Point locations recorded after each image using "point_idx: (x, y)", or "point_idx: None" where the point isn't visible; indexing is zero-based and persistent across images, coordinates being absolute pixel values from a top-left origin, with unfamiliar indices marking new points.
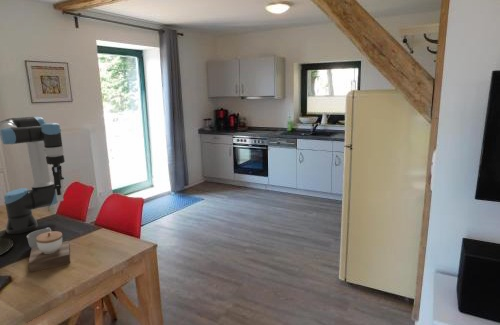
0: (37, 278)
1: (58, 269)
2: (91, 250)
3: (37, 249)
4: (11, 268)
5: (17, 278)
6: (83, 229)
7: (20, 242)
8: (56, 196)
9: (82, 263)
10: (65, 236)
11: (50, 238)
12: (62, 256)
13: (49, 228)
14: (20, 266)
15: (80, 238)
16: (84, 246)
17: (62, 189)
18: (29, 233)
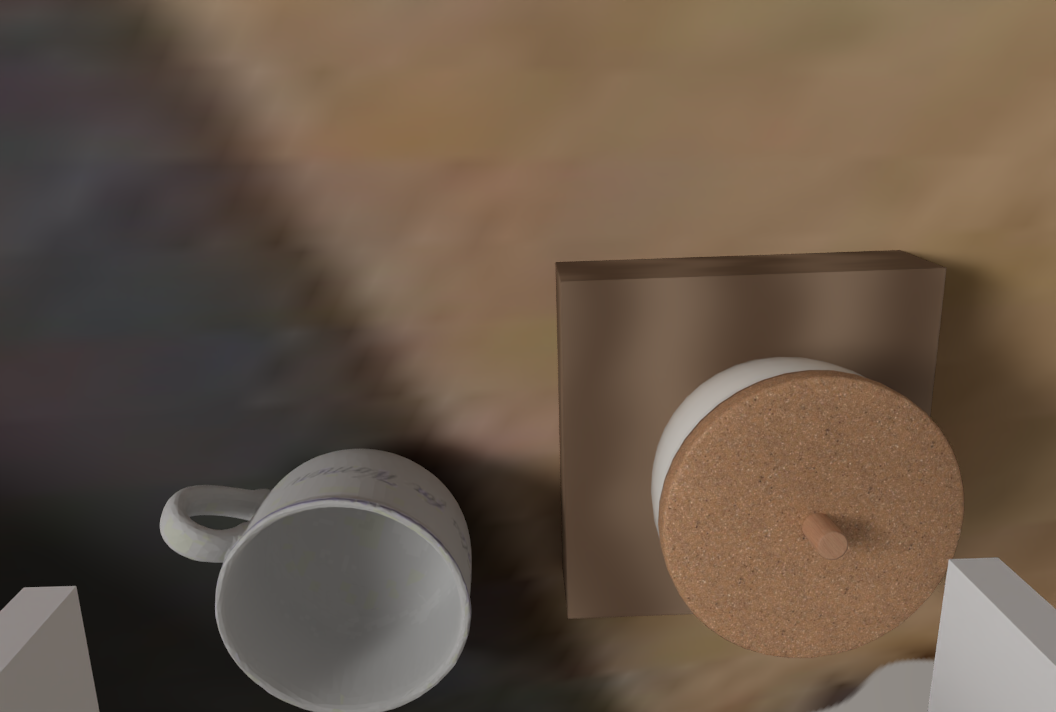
0: (1022, 491)
1: (967, 346)
2: (728, 37)
3: (629, 567)
4: (712, 689)
5: (922, 625)
6: (39, 122)
7: (174, 704)
8: None
9: (985, 136)
10: (189, 321)
11: (919, 504)
12: (935, 329)
13: (190, 519)
14: (714, 635)
15: (322, 158)
16: (577, 113)
17: (23, 696)
18: (283, 700)
